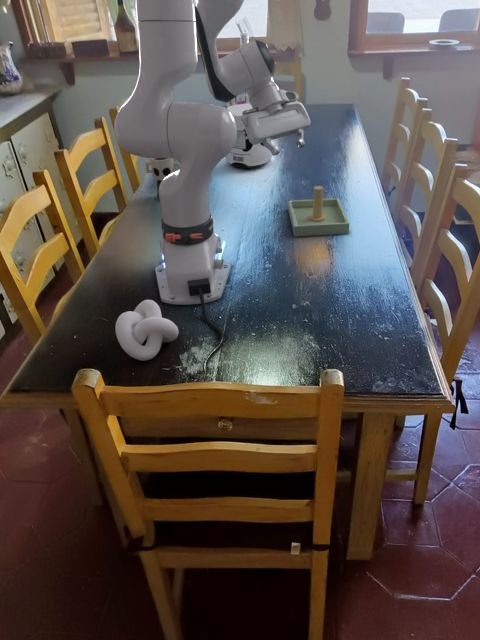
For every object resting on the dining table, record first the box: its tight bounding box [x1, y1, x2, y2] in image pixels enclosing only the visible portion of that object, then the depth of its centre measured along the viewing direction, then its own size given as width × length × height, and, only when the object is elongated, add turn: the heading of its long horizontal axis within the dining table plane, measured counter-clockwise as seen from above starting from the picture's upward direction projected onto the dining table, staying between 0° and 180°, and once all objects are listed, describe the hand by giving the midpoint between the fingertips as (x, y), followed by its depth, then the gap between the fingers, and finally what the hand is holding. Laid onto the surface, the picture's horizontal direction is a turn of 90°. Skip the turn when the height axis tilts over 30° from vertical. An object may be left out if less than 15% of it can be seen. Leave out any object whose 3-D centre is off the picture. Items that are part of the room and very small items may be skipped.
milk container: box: [224, 104, 273, 169], centre depth 182 cm, size 17×17×18 cm
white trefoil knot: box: [114, 299, 180, 362], centre depth 104 cm, size 11×12×9 cm
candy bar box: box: [225, 91, 246, 108], centre depth 217 cm, size 11×5×16 cm, turn 25°
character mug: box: [144, 158, 180, 199], centre depth 162 cm, size 11×7×13 cm, turn 87°
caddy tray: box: [287, 185, 350, 237], centre depth 147 cm, size 17×15×10 cm
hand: (289, 150), depth 147 cm, fingers open, 8 cm apart
